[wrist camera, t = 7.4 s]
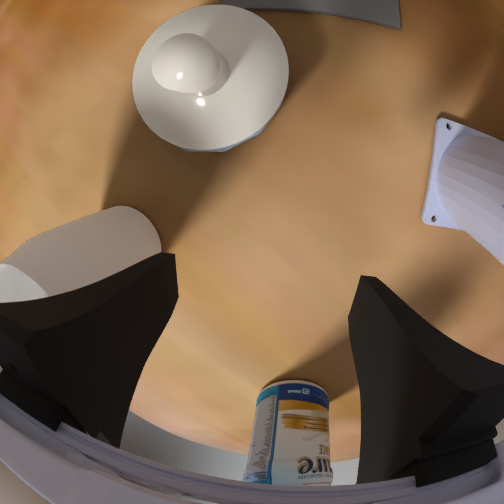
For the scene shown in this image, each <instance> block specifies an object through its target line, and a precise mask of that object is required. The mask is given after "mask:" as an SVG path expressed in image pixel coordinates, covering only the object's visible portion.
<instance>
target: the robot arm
mask: <svg viewBox="0 0 504 504" xmlns="http://www.w3.org/2000/svg"><path fill="white" fill-rule="evenodd" d="M447 123H448V124H449V129H447V127H446V125H447ZM432 216H435V218H434V219H433V220H431V218H432ZM421 219H422V221H423V222H424V223H425V224H429V225H435V226H441V227H447V228H453V229H459V230H464V231H466V232H467V233H468V234H469V235H470V236H472V237H473V238H474V239H475V240H476V241H477V242H479V243H480V244H481V245H482V246H483V247H484V248H485V249H487V250H488V251H489V252H490V253H491V254H492V255H493V256H494V257H495V258H496V259H498V260H499V261H500V262H501V263H502V264H503V265H504V141H501V140H498V139H496V138H494V137H492V136H489V135H487V134H485V133H483V132H480V131H478V130H475V129H473V128H470V127H468V126H465V125H462V124H460V123H457V122H454V121H451V120H448V119H445V118H438V119H437V120H436V127H435V137H434V146H433V154H432V161H431V168H430V174H429V180H428V186H427V191H426V197H425V202H424V206H423V211H422V215H421ZM178 297H179V295H178V285H177V274H176V262H175V254H171V253H163V252H160V253H157V254H155V255H152V256H150V257H148V258H146V259H144V260H142V261H140V262H138V263H136V264H134V265H132V266H130V267H128V268H126V269H124V270H122V271H119V272H117V273H115V274H113V275H111V276H108V277H106V278H104V279H102V280H100V281H97V282H95V283H92V284H90V285H87V286H84V287H81V288H78V289H75V290H72V291H68V292H65V293H61V294H58V295H54V296H50V297H45V298H40V299H34V300H28V301H18V302H6V303H0V366H1V367H2V369H3V370H2V372H1V373H0V460H1V461H2V462H3V463H4V464H5V465H6V466H8V468H9V469H10V470H11V471H13V472H14V473H15V474H16V475H17V476H18V477H19V478H20V479H21V480H23V481H24V482H25V483H26V484H27V485H29V486H30V487H31V488H32V489H33V490H35V491H36V492H37V493H38V494H40V495H41V496H42V497H44V498H45V499H46V500H48V501H49V502H50V503H52V504H201V503H196V502H192V501H188V500H183V499H180V498H176V497H173V496H169V495H166V494H162V493H159V492H156V491H153V490H150V489H147V488H144V487H142V486H138V485H136V484H133V483H131V482H128V481H126V480H123V479H121V478H120V477H119V475H117V474H120V475H122V476H125V477H127V478H130V479H132V480H135V481H138V482H140V483H143V484H146V485H149V486H152V487H155V488H158V489H161V490H164V491H168V492H172V493H175V494H179V495H182V496H186V497H190V498H194V499H199V500H203V501H209V502H213V503H218V504H504V440H502V441H500V442H499V443H497V444H496V445H495V444H494V441H493V438H495V437H496V436H497V430H496V427H495V426H496V425H497V424H498V423H499V422H500V421H501V420H502V419H503V418H504V365H502V364H499V363H497V362H494V361H491V360H489V359H487V358H485V357H483V356H481V355H479V354H477V353H475V352H473V351H471V350H469V349H467V348H465V347H464V346H462V345H460V344H459V343H457V342H455V341H454V340H452V339H451V338H449V337H447V336H446V335H445V334H443V333H442V332H440V331H439V330H438V329H436V328H435V327H433V326H432V325H431V324H430V323H428V322H427V321H426V320H425V319H423V318H422V317H421V316H420V315H419V314H417V313H416V312H415V311H414V310H413V309H412V308H410V307H409V306H408V305H407V304H406V303H405V302H404V301H403V300H402V299H400V298H399V297H398V296H397V295H396V294H395V293H394V292H393V291H392V290H391V289H390V288H388V287H387V286H386V285H385V284H384V283H383V282H382V281H380V280H379V279H378V278H376V277H372V276H362V275H361V277H360V280H359V284H358V287H357V290H356V294H355V297H354V300H353V304H352V307H351V310H350V313H349V316H348V323H349V336H350V342H351V347H352V352H353V357H354V362H355V367H356V372H357V377H358V382H359V389H360V399H361V445H360V460H359V468H358V476H357V483H356V484H355V485H339V486H286V485H271V484H260V483H251V482H243V481H236V480H230V479H224V478H218V477H213V476H208V475H203V474H199V473H194V472H190V471H186V470H182V469H178V468H175V467H171V466H167V465H164V464H161V463H158V462H154V461H151V460H148V459H145V458H142V457H140V456H137V455H134V454H131V453H129V452H126V451H123V450H121V449H119V447H120V442H121V438H122V433H123V429H124V425H125V421H126V417H127V414H128V410H129V407H130V403H131V400H132V397H133V394H134V391H135V388H136V386H137V383H138V380H139V378H140V375H141V373H142V370H143V367H144V365H145V363H146V361H147V359H148V357H149V355H150V353H151V351H152V350H153V348H154V346H155V344H156V343H157V341H158V339H159V337H160V335H161V334H162V332H163V330H164V328H165V327H166V325H167V323H168V321H169V319H170V317H171V315H172V313H173V310H174V308H175V305H176V303H177V300H178ZM109 470H110V471H109ZM111 471H113V472H115V473H117V474H115V473H113V472H111Z"/></svg>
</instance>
